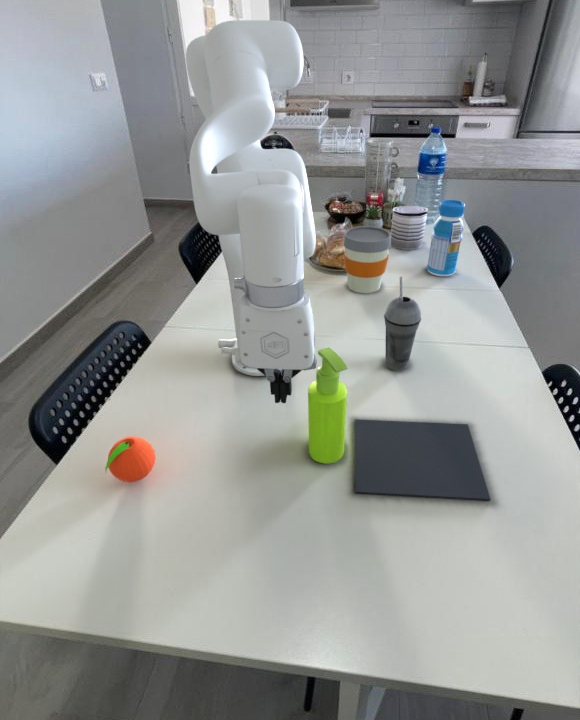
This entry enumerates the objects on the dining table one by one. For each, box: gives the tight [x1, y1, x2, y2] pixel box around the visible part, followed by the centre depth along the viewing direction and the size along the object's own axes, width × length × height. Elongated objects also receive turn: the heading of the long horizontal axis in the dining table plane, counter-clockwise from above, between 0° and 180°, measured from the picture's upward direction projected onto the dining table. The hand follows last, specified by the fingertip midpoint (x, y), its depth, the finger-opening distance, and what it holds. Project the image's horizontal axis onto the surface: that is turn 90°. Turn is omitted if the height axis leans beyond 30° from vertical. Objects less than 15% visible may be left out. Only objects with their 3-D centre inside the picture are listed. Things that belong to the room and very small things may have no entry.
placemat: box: [354, 418, 491, 502], centre depth 73 cm, size 20×16×1 cm
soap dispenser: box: [307, 346, 349, 465], centre depth 69 cm, size 6×7×20 cm
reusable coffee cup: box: [342, 225, 392, 294], centre depth 121 cm, size 12×13×15 cm
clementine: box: [105, 435, 156, 483], centre depth 69 cm, size 8×7×7 cm
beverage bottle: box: [426, 199, 466, 277], centre depth 127 cm, size 8×8×20 cm
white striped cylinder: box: [390, 205, 429, 251], centre depth 147 cm, size 11×11×12 cm
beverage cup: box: [383, 276, 422, 371], centre depth 89 cm, size 7×7×20 cm
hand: (281, 397), depth 68 cm, fingers closed
